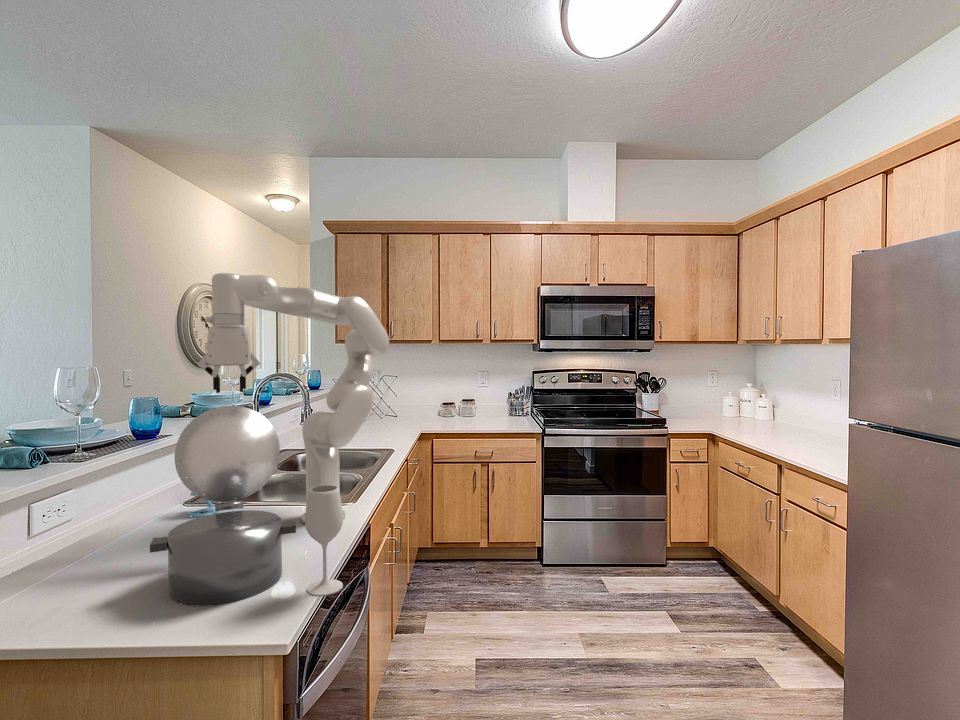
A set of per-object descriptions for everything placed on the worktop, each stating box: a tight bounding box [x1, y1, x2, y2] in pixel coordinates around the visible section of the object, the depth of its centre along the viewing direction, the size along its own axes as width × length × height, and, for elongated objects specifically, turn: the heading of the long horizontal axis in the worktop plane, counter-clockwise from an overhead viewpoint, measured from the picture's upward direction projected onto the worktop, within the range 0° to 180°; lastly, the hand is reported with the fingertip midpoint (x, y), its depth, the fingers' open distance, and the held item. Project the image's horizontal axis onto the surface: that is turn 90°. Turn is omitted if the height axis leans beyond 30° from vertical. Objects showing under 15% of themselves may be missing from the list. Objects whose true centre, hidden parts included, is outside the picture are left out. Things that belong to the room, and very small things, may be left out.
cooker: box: [149, 510, 297, 607], centre depth 114 cm, size 22×28×12 cm
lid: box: [174, 405, 281, 512], centre depth 128 cm, size 25×23×4 cm
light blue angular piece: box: [187, 492, 222, 518], centre depth 161 cm, size 8×8×12 cm
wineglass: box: [304, 485, 344, 597], centre depth 110 cm, size 8×8×21 cm
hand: (229, 391), depth 136 cm, fingers open, 4 cm apart
